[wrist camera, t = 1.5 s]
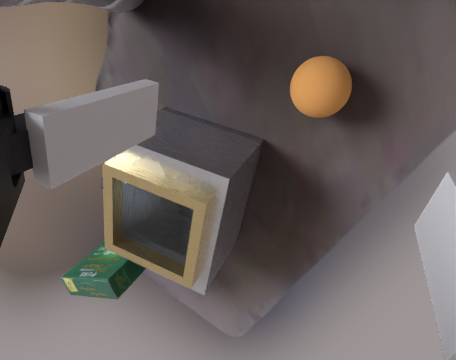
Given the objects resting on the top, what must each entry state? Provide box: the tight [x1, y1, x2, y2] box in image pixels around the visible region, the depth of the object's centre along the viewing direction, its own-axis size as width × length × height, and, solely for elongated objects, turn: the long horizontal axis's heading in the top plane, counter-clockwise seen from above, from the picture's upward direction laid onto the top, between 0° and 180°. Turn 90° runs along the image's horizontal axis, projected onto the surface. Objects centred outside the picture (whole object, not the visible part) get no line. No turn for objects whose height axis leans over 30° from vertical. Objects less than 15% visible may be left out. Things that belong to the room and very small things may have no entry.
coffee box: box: [61, 241, 146, 299], centre depth 39 cm, size 8×3×13 cm, turn 108°
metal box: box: [101, 107, 264, 296], centre depth 34 cm, size 14×16×12 cm
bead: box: [290, 56, 352, 118], centre depth 27 cm, size 5×5×5 cm
